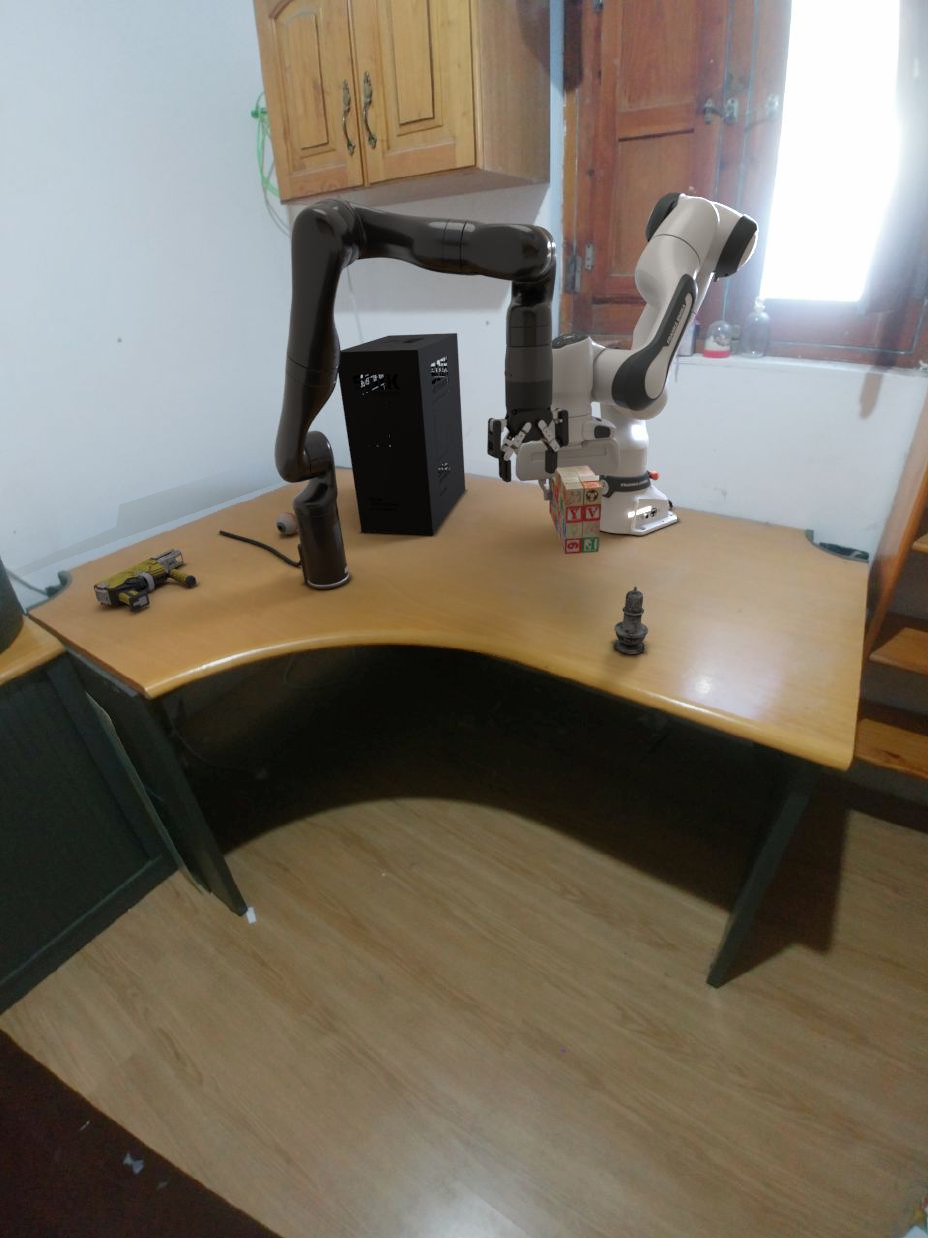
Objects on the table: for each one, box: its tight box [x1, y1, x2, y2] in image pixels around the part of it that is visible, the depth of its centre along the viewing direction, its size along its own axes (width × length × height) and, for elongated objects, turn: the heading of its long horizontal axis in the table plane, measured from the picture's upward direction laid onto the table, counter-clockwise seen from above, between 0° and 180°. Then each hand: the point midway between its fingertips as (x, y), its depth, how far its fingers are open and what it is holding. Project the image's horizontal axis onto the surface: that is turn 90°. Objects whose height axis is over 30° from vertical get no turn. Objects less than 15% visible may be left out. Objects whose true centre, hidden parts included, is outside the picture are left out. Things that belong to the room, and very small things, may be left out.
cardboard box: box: [338, 332, 466, 536], centre depth 166 cm, size 38×20×45 cm, turn 167°
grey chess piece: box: [613, 585, 649, 655], centre depth 105 cm, size 6×6×12 cm
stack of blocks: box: [548, 465, 603, 555], centre depth 114 cm, size 21×6×12 cm, turn 1°
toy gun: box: [93, 548, 197, 612], centre depth 139 cm, size 5×24×15 cm
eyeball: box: [275, 511, 298, 536], centre depth 163 cm, size 6×6×6 cm
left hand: (528, 476), depth 103 cm, fingers open, 8 cm apart
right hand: (566, 498), depth 121 cm, fingers closed on stack of blocks, 6 cm apart
